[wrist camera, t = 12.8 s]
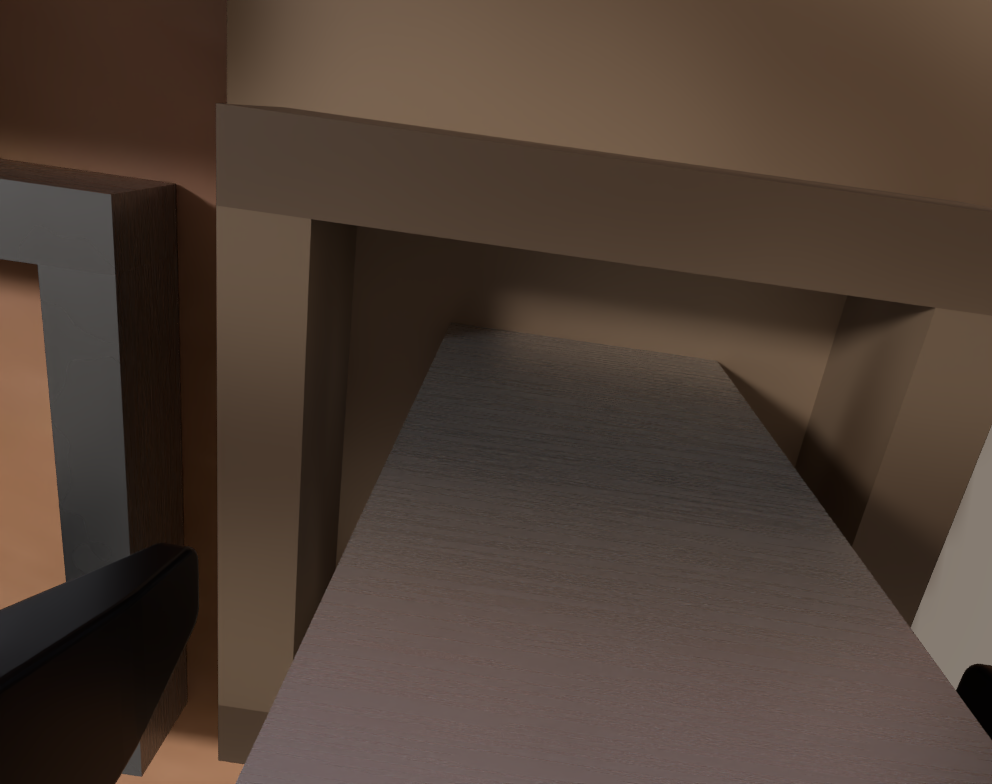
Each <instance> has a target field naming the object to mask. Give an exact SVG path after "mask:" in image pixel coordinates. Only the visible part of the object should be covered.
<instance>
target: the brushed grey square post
mask: <svg viewBox="0 0 992 784" xmlns="http://www.w3.org/2000/svg"><path fill="white" fill-rule="evenodd" d="M236 784H992V740H991V739H990V737H989V736H988V735H987V733H986V732H985V731H984V729H983V728H982V726H981V725H980V724H979V722H978V721H977V719H976V718H975V717H974V715H973V714H972V713H971V711H970V710H969V708H968V707H967V706H966V704H965V703H964V702H963V700H962V699H961V697H960V696H959V695H958V693H957V692H956V690H955V689H954V688H953V686H952V685H951V684H950V682H949V681H948V679H947V678H946V677H945V675H944V674H943V672H942V671H941V670H940V668H939V667H938V666H937V664H936V663H935V662H934V660H933V659H932V658H931V656H930V655H929V653H928V652H927V651H926V649H925V648H924V646H923V645H922V643H921V642H920V641H919V639H918V638H917V637H916V635H915V634H914V632H913V631H912V630H911V628H910V627H909V626H908V624H907V623H906V621H905V620H904V619H903V617H902V616H901V614H900V613H899V612H898V610H897V609H896V608H895V606H894V605H893V603H892V602H891V601H890V599H889V598H888V596H887V595H886V594H885V592H884V591H883V590H882V588H881V587H880V585H879V584H878V583H877V581H876V580H875V579H874V577H873V576H872V574H871V573H870V572H869V570H868V569H867V567H866V566H865V565H864V563H863V562H862V561H861V559H860V558H859V556H858V555H857V554H856V552H855V551H854V550H853V548H852V547H851V545H850V544H849V543H848V541H847V540H846V538H845V537H844V536H843V534H842V533H841V532H840V530H839V529H838V527H837V526H836V525H835V523H834V522H833V521H832V519H831V518H830V516H829V515H828V514H827V512H826V511H825V509H824V508H823V507H822V505H821V504H820V503H819V501H818V500H817V498H816V497H815V496H814V494H813V493H812V491H811V490H810V489H809V487H808V486H807V485H806V483H805V482H804V480H803V479H802V478H801V476H800V475H799V474H798V472H797V471H796V469H795V468H794V467H793V465H792V464H791V462H790V461H789V460H788V458H787V457H786V456H785V454H784V453H783V451H782V450H781V449H780V447H779V446H778V445H777V443H776V442H775V440H774V439H773V438H772V436H771V435H770V433H769V432H768V431H767V429H766V428H765V427H764V425H763V424H762V422H761V421H760V420H759V418H758V417H757V415H756V414H755V413H754V411H753V410H752V409H751V407H750V406H749V404H748V403H747V402H746V400H745V399H744V398H743V396H742V395H741V393H740V392H739V391H738V389H737V388H736V386H735V385H734V384H733V382H732V381H731V380H730V378H729V377H728V375H727V374H726V373H725V371H724V370H723V369H722V367H721V366H720V364H719V363H718V362H717V361H716V360H709V359H702V358H695V357H688V356H682V355H675V354H668V353H661V352H654V351H647V350H640V349H633V348H626V347H619V346H612V345H605V344H598V343H591V342H584V341H577V340H570V339H563V338H556V337H550V336H543V335H536V334H529V333H522V332H515V331H508V330H501V329H494V328H487V327H480V326H473V325H466V324H459V323H452V322H451V324H450V326H449V328H448V330H447V332H446V335H445V337H444V339H443V341H442V343H441V345H440V347H439V350H438V352H437V354H436V356H435V358H434V360H433V362H432V364H431V367H430V369H429V371H428V373H427V375H426V377H425V379H424V382H423V384H422V386H421V388H420V390H419V392H418V394H417V397H416V399H415V401H414V403H413V405H412V407H411V409H410V412H409V414H408V416H407V418H406V420H405V422H404V424H403V427H402V429H401V431H400V433H399V435H398V437H397V439H396V442H395V444H394V446H393V448H392V450H391V452H390V454H389V457H388V459H387V461H386V463H385V465H384V467H383V469H382V471H381V474H380V476H379V478H378V480H377V482H376V484H375V486H374V489H373V491H372V493H371V495H370V497H369V499H368V501H367V504H366V506H365V508H364V510H363V512H362V514H361V516H360V519H359V521H358V523H357V525H356V527H355V529H354V531H353V534H352V536H351V538H350V540H349V542H348V544H347V546H346V549H345V551H344V553H343V555H342V557H341V559H340V561H339V563H338V566H337V568H336V570H335V572H334V574H333V576H332V578H331V581H330V583H329V585H328V587H327V589H326V591H325V593H324V596H323V598H322V600H321V602H320V604H319V606H318V608H317V611H316V613H315V615H314V617H313V619H312V621H311V623H310V626H309V628H308V630H307V632H306V634H305V636H304V638H303V641H302V643H301V645H300V647H299V649H298V651H297V653H296V656H295V658H294V660H293V662H292V664H291V666H290V668H289V670H288V673H287V675H286V677H285V679H284V681H283V683H282V685H281V688H280V690H279V692H278V694H277V696H276V698H275V700H274V703H273V705H272V707H271V709H270V711H269V713H268V715H267V718H266V720H265V722H264V724H263V726H262V728H261V730H260V733H259V735H258V737H257V739H256V741H255V743H254V745H253V748H252V750H251V752H250V754H249V756H248V758H247V760H246V763H245V765H244V767H243V769H242V771H241V773H240V775H239V777H238V780H237V782H236Z"/></svg>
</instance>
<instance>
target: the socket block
mask: <svg viewBox="0 0 992 784" xmlns="http://www.w3.org/2000/svg"><path fill="white" fill-rule="evenodd" d="M0 259H4V260H11V261H18V262H25V263H32V264H37V265H38V276H39V287H40V298H41V309H42V320H43V331H44V342H45V353H46V364H47V375H48V387H49V398H50V409H51V420H52V431H53V442H54V453H55V464H56V475H57V486H58V497H59V508H60V520H61V531H62V542H63V553H64V564H65V575H66V582H67V581H70V580H72V579H75V578H77V577H79V576H82V575H84V574H86V573H89V572H91V571H93V570H96V569H98V568H100V567H103V566H105V565H108V564H110V563H112V562H115V561H117V560H119V559H122V558H124V557H126V556H129V555H131V554H133V553H136V552H138V551H141V550H143V549H145V548H148V547H150V546H152V545H155V544H157V543H169V544H176V545H183V546H184V530H183V486H182V442H181V398H180V354H179V309H178V265H177V221H176V184H174V183H166V182H159V181H152V180H145V179H138V178H131V177H124V176H117V175H110V174H103V173H96V172H89V171H82V170H75V169H68V168H61V167H54V166H47V165H39V164H32V163H25V162H18V161H11V160H4V159H0ZM186 704H187V663H186V645H185V647H184V650H183V652H182V654H181V656H180V658H179V660H178V662H177V664H176V667H175V669H174V671H173V673H172V675H171V677H170V679H169V681H168V684H167V686H166V688H165V690H164V692H163V694H162V696H161V698H160V701H159V703H158V705H157V707H156V709H155V711H154V713H153V715H152V718H151V720H150V722H149V724H148V726H147V728H146V730H145V732H144V734H143V736H142V738H141V740H140V742H139V744H138V746H137V748H136V750H135V751H134V753H133V755H132V757H131V758H130V760H129V762H128V763H127V765H126V767H125V769H124V770H123V772H122V774H128V775H134V776H141V777H142V776H143V774H144V772H145V771H146V769H147V767H148V766H149V764H150V763H151V761H152V759H153V758H154V756H155V754H156V753H157V751H158V750H159V748H160V746H161V745H162V743H163V741H164V740H165V738H166V737H167V735H168V733H169V732H170V730H171V728H172V727H173V725H174V724H175V722H176V720H177V719H178V717H179V715H180V714H181V712H182V711H183V709H184V707H185V706H186Z"/></svg>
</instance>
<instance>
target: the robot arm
mask: <svg viewBox="0 0 992 784" xmlns="http://www.w3.org/2000/svg"><path fill="white" fill-rule="evenodd" d="M198 610H199V572H198V556H197V552H196V551H195V550H194V549H193V548H192V547H189V546H183V545H176V544H169V543H157V544H155V545H152V546H150V547H148V548H145V549H143V550H141V551H138V552H136V553H133V554H131V555H129V556H126V557H124V558H122V559H119V560H117V561H115V562H112V563H110V564H108V565H105V566H103V567H100V568H98V569H96V570H93V571H91V572H89V573H86V574H84V575H82V576H79V577H77V578H75V579H72V580H70V581H67V582H65V583H63V584H60V585H58V586H56V587H53V588H51V589H49V590H46V591H44V592H42V593H39V594H37V595H34V596H32V597H30V598H27V599H25V600H23V601H20V602H18V603H16V604H13V605H11V606H8V607H6V608H4V609H1V610H0V784H115V783H116V782H117V780H118V779H119V777H120V775H121V774H122V772H123V770H124V769H125V767H126V765H127V763H128V762H129V760H130V758H131V757H132V755H133V753H134V751H135V750H136V748H137V746H138V744H139V742H140V740H141V738H142V736H143V734H144V732H145V730H146V728H147V726H148V724H149V722H150V720H151V718H152V715H153V713H154V711H155V709H156V707H157V705H158V703H159V701H160V698H161V696H162V694H163V692H164V690H165V688H166V686H167V684H168V681H169V679H170V677H171V675H172V673H173V671H174V669H175V667H176V664H177V662H178V660H179V658H180V656H181V654H182V652H183V650H184V647H185V645H186V643H187V641H188V639H189V637H190V635H191V633H192V630H193V628H194V626H195V623H196V620H197V616H198ZM956 692H957V693H958V695H959V696H960V697H961V699H962V700H963V702H964V703H965V704H966V706H967V707H968V708H969V710H970V711H971V713H972V714H973V715H974V717H975V718H976V719H977V721H978V722H979V724H980V725H981V726H982V728H983V729H984V731H985V732H986V733H987V735H988V736H989V737H990V739H991V740H992V666H991V665H983V664H974V665H971V666H970V667H969V668H967V669H966V671H965V672H964V674H963V676H962V678H961V681H960V683H959V685H958V688H957V690H956Z"/></svg>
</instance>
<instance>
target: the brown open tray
mask: <svg viewBox="0 0 992 784" xmlns="http://www.w3.org/2000/svg"><path fill="white" fill-rule="evenodd" d="M216 255H217V519H218V760H220V761H226V762H233V763H240V764H245V763H246V760H247V758H248V756H249V754H250V752H251V750H252V748H253V745H254V743H255V741H256V739H257V737H258V735H259V733H260V730H261V728H262V726H263V724H264V722H265V720H266V718H267V715H268V713H269V711H270V709H271V707H272V705H273V703H274V700H275V698H276V696H277V694H278V692H279V690H280V688H281V685H282V683H283V681H284V679H285V677H286V675H287V673H288V670H289V668H290V666H291V664H292V662H293V660H294V658H295V656H296V653H297V651H298V649H299V647H300V645H301V643H302V641H303V638H304V636H305V634H306V632H307V630H308V628H309V626H310V623H311V621H312V619H313V617H314V615H315V613H316V611H317V608H318V606H319V604H320V602H321V600H322V598H323V596H324V593H325V591H326V589H327V587H328V585H329V583H330V581H331V578H332V576H333V574H334V572H335V570H336V568H337V566H338V563H339V561H340V559H341V557H342V555H343V553H344V551H345V549H346V546H347V544H348V542H349V540H350V538H351V536H352V534H353V531H354V529H355V527H356V525H357V523H358V521H359V519H360V516H361V514H362V512H363V510H364V508H365V506H366V504H367V501H368V499H369V497H370V495H371V493H372V491H373V489H374V486H375V484H376V482H377V480H378V478H379V476H380V474H381V471H382V469H383V467H384V465H385V463H386V461H387V459H388V457H389V454H390V452H391V450H392V448H393V446H394V444H395V442H396V439H397V437H398V435H399V433H400V431H401V429H402V427H403V424H404V422H405V420H406V418H407V416H408V414H409V412H410V409H411V407H412V405H413V403H414V401H415V399H416V397H417V394H418V392H419V390H420V388H421V386H422V384H423V382H424V379H425V377H426V375H427V373H428V371H429V369H430V367H431V364H432V362H433V360H434V358H435V356H436V354H437V352H438V350H439V347H440V345H441V343H442V341H443V339H444V337H445V335H446V332H447V330H448V328H449V326H450V324H451V322H452V323H459V324H466V325H473V326H480V327H487V328H494V329H501V330H508V331H515V332H522V333H529V334H536V335H543V336H550V337H556V338H563V339H570V340H577V341H584V342H591V343H598V344H605V345H612V346H619V347H626V348H633V349H640V350H647V351H654V352H661V353H668V354H675V355H682V356H688V357H695V358H702V359H709V360H716V361H717V362H718V363H719V364H720V366H721V367H722V369H723V370H724V371H725V373H726V374H727V375H728V377H729V378H730V380H731V381H732V382H733V384H734V385H735V386H736V388H737V389H738V391H739V392H740V393H741V395H742V396H743V398H744V399H745V400H746V402H747V403H748V404H749V406H750V407H751V409H752V410H753V411H754V413H755V414H756V415H757V417H758V418H759V420H760V421H761V422H762V424H763V425H764V427H765V428H766V429H767V431H768V432H769V433H770V435H771V436H772V438H773V439H774V440H775V442H776V443H777V445H778V446H779V447H780V449H781V450H782V451H783V453H784V454H785V456H786V457H787V458H788V460H789V461H790V462H791V464H792V465H793V467H794V468H795V469H796V471H797V472H798V474H799V475H800V476H801V478H802V479H803V480H804V482H805V483H806V485H807V486H808V487H809V489H810V490H811V491H812V493H813V494H814V496H815V497H816V498H817V500H818V501H819V503H820V504H821V505H822V507H823V508H824V509H825V511H826V512H827V514H828V515H829V516H830V518H831V519H832V521H833V522H834V523H835V525H836V526H837V527H838V529H839V530H840V532H841V533H842V534H843V536H844V537H845V538H846V540H847V541H848V543H849V544H850V545H851V547H852V548H853V550H854V551H855V552H856V554H857V555H858V556H859V558H860V559H861V561H862V562H863V563H864V565H865V566H866V567H867V569H868V570H869V572H870V573H871V574H872V576H873V577H874V579H875V580H876V581H877V583H878V584H879V585H880V587H881V588H882V590H883V591H884V592H885V594H886V595H887V596H888V598H889V599H890V601H891V602H892V603H893V605H894V606H895V608H896V609H897V610H898V612H899V613H900V614H901V616H902V617H903V619H904V620H905V621H906V623H907V624H908V626H909V627H911V625H912V622H913V620H914V617H915V615H916V612H917V610H918V607H919V605H920V602H921V600H922V597H923V595H924V592H925V590H926V587H927V585H928V582H929V580H930V577H931V575H932V572H933V570H934V567H935V565H936V562H937V560H938V557H939V555H940V553H941V550H942V548H943V545H944V543H945V540H946V538H947V535H948V533H949V530H950V528H951V525H952V523H953V520H954V518H955V515H956V513H957V510H958V508H959V505H960V503H961V500H962V498H963V495H964V493H965V490H966V488H967V485H968V483H969V480H970V478H971V475H972V473H973V470H974V468H975V465H976V463H977V460H978V458H979V455H980V453H981V450H982V448H983V445H984V443H985V440H986V438H987V435H988V433H989V430H990V428H991V425H992V0H227V104H222V103H216Z"/></svg>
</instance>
